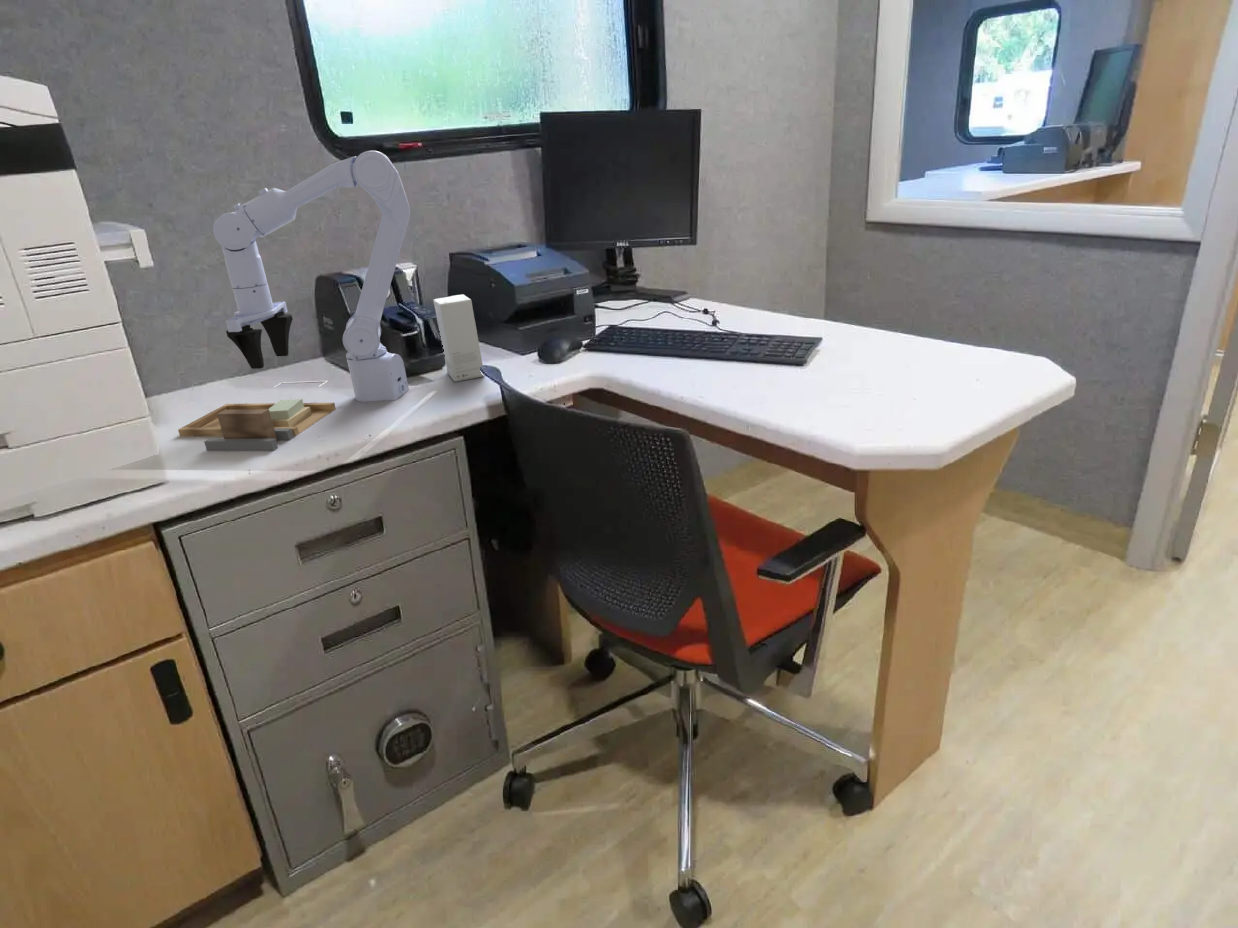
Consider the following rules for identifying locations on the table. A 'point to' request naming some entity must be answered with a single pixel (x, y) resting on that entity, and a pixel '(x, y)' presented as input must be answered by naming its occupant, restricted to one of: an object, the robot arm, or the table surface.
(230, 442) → the holder
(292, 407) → the offcut
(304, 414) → the offcut
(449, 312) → the skincare box
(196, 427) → the tray
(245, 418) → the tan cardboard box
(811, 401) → the table surface
